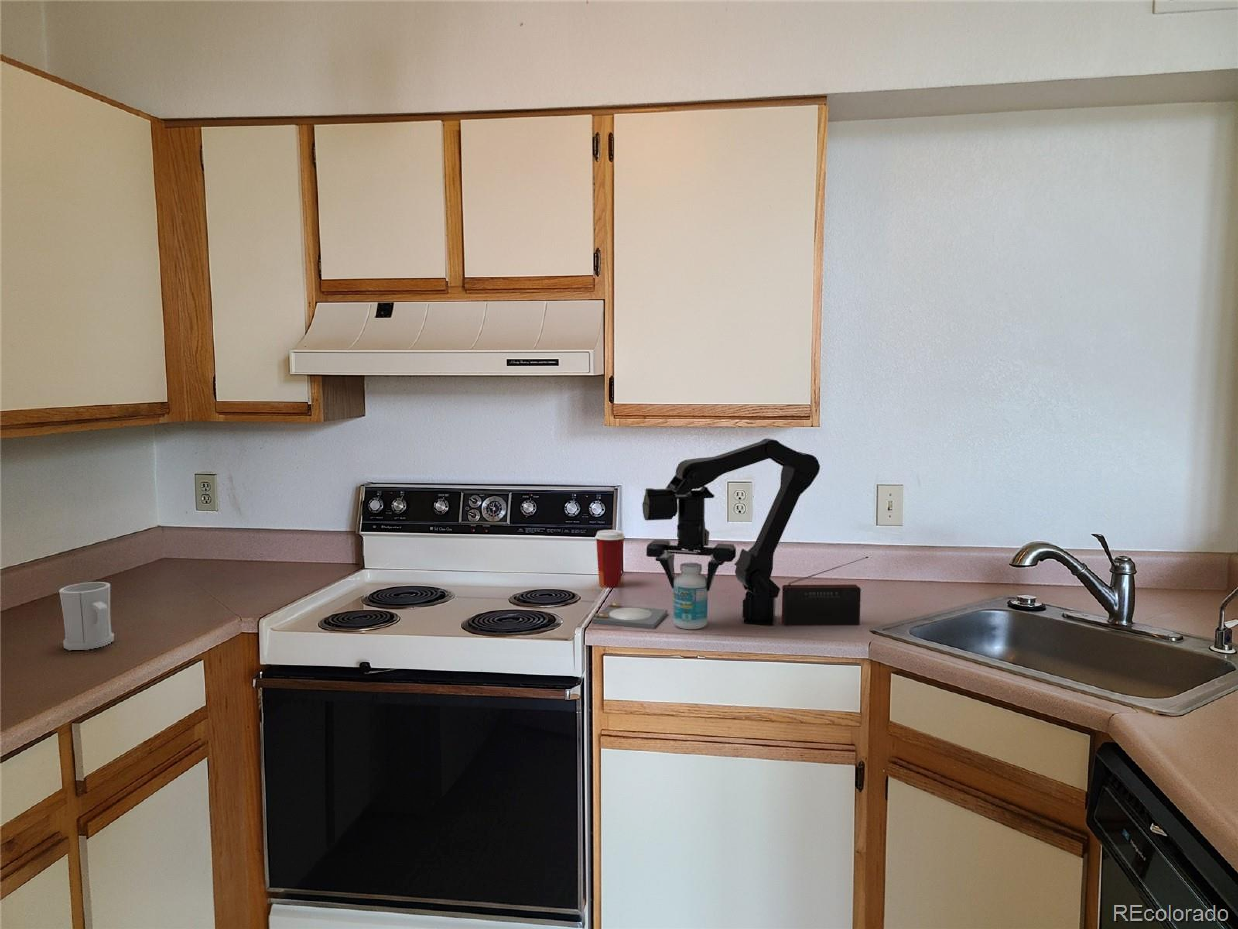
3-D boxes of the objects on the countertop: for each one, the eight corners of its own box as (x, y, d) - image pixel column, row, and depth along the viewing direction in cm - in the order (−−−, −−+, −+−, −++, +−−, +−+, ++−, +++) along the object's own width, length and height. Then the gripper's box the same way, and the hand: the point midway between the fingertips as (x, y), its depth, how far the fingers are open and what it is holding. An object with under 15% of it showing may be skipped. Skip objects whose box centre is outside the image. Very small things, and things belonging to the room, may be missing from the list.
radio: (784, 626, 187) (786, 559, 185) (781, 622, 190) (783, 556, 188) (869, 626, 187) (871, 558, 185) (865, 622, 190) (867, 555, 188)
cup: (131, 637, 179) (127, 581, 178) (106, 651, 170) (102, 592, 169) (80, 638, 179) (75, 582, 178) (52, 652, 170) (48, 593, 169)
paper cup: (630, 584, 223) (630, 531, 222) (613, 590, 217) (613, 536, 216) (605, 580, 228) (605, 528, 226) (588, 586, 221) (588, 532, 220)
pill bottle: (666, 624, 188) (666, 564, 186) (690, 618, 193) (690, 559, 191) (690, 632, 182) (690, 570, 181) (714, 626, 187) (715, 565, 185)
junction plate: (667, 613, 196) (667, 606, 196) (653, 628, 185) (653, 620, 185) (609, 608, 200) (609, 601, 200) (592, 623, 189) (592, 615, 189)
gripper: (740, 514, 190) (739, 583, 191) (659, 510, 195) (659, 577, 197) (731, 523, 179) (730, 596, 181) (645, 518, 185) (645, 589, 186)
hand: (690, 589), depth 186 cm, fingers closed on pill bottle, 7 cm apart
